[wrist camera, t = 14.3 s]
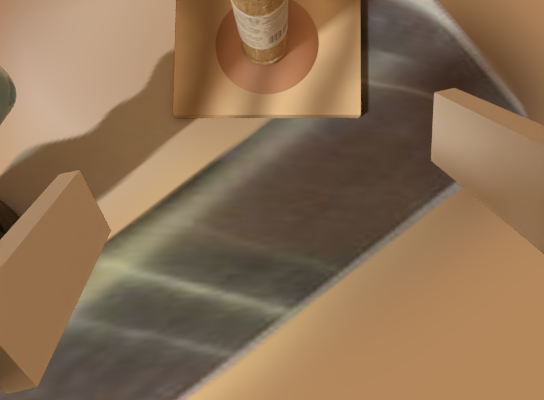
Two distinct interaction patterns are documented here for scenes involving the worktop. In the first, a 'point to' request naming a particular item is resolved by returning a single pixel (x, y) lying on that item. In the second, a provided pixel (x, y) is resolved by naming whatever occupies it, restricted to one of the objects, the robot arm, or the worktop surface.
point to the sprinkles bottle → (262, 29)
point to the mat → (268, 78)
